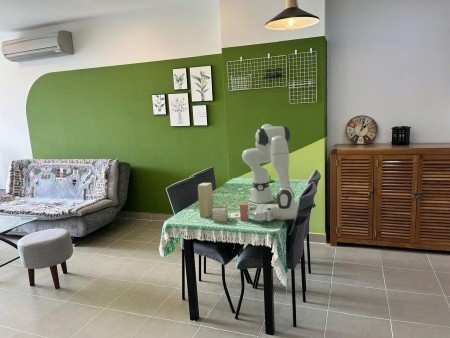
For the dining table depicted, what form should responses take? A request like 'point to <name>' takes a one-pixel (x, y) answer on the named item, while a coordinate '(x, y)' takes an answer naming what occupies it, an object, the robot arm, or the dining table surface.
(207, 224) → the dining table surface
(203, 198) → the tall beige pillar
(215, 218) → the tower base
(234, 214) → the page
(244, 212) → the tall brick
